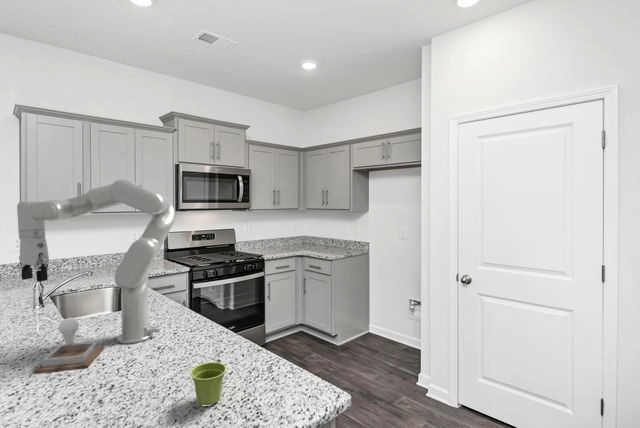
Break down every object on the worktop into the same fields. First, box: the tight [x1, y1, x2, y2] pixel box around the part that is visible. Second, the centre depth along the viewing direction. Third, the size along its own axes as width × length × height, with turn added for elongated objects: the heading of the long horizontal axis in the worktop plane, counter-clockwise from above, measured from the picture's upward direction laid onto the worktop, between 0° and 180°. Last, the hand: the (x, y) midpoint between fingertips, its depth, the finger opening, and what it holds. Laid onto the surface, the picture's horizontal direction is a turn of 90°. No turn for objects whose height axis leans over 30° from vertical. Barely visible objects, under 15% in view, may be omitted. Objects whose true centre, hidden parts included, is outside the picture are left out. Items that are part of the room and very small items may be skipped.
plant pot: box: [190, 361, 227, 406], centre depth 93 cm, size 9×9×9 cm
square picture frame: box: [41, 341, 99, 368], centre depth 117 cm, size 12×12×2 cm
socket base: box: [33, 345, 105, 374], centre depth 117 cm, size 15×15×1 cm
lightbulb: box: [58, 317, 80, 345], centre depth 128 cm, size 6×6×11 cm
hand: (34, 279), depth 126 cm, fingers open, 9 cm apart
